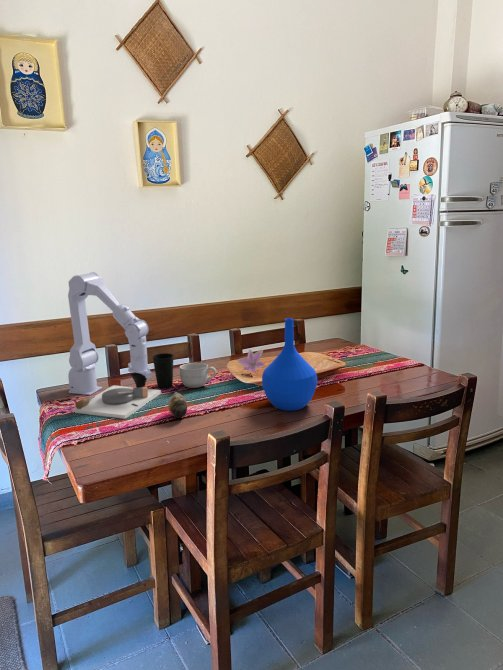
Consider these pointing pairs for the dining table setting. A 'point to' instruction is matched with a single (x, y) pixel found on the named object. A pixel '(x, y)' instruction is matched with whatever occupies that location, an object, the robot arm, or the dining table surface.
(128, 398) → the grey handled disc
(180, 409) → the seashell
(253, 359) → the lily
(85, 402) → the screwdriver
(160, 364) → the cup
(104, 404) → the board
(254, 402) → the dining table surface
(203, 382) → the teacup
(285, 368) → the vase
